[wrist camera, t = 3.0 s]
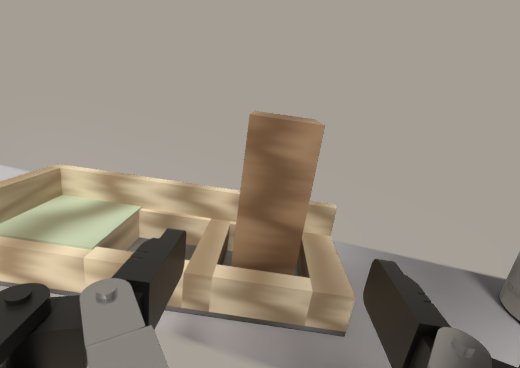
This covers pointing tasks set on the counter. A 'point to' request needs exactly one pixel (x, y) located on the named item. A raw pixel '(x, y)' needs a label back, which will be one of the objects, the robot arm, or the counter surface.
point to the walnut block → (275, 191)
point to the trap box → (153, 226)
